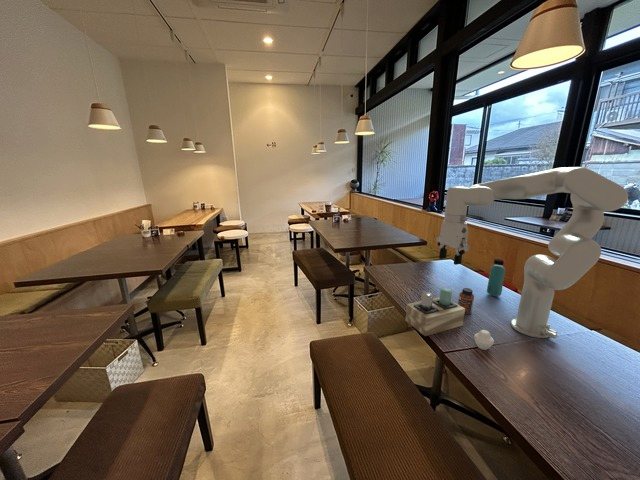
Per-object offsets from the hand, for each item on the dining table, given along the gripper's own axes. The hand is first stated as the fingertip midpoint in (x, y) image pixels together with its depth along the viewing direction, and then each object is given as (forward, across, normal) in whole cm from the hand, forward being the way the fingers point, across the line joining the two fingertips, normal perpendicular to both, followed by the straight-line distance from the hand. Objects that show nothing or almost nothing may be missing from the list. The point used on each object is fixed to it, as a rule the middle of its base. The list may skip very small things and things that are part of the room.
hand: (449, 260), depth 106 cm
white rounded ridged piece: (+28, -19, 0) cm, 34 cm away
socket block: (+28, 0, +5) cm, 28 cm away
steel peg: (+21, 0, +10) cm, 23 cm away
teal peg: (+21, 0, 0) cm, 21 cm away
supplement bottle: (+28, +2, -15) cm, 32 cm away
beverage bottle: (+28, +8, -42) cm, 51 cm away
